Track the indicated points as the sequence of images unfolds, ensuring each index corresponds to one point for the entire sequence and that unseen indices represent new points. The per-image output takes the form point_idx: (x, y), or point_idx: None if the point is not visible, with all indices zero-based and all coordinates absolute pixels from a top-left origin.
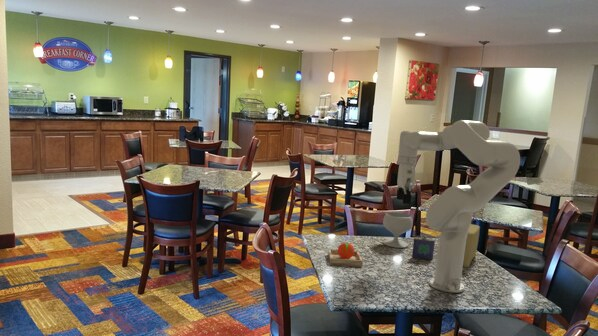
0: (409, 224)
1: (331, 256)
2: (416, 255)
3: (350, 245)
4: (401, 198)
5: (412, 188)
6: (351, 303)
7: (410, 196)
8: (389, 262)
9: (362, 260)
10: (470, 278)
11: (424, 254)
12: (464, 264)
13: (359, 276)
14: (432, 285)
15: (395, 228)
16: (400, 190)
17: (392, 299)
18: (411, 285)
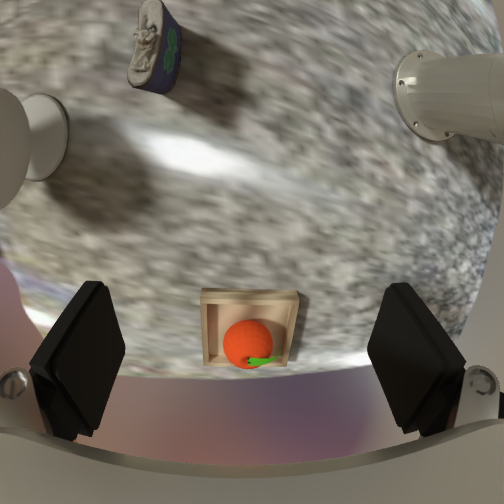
0: (6, 102)
1: (268, 365)
2: (171, 80)
3: (259, 351)
4: (108, 317)
5: (459, 439)
6: (460, 323)
7: (446, 349)
8: (238, 195)
9: (294, 300)
10: None
11: (176, 50)
12: None
13: (363, 304)
14: (440, 140)
15: (27, 163)
16: (73, 412)
17: (469, 258)
18: (424, 190)
